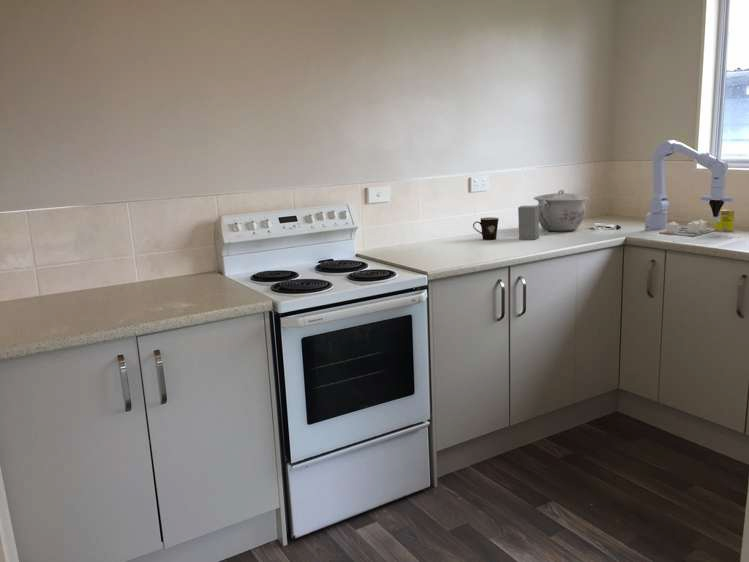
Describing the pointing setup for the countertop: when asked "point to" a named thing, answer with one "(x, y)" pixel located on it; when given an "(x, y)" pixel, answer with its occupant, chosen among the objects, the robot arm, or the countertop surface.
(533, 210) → the skincare box
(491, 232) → the coffee mug
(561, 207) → the chamber pot
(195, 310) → the countertop surface
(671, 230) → the tab
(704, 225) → the tab
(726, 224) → the supplement box
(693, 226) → the beige block
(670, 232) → the switch board
